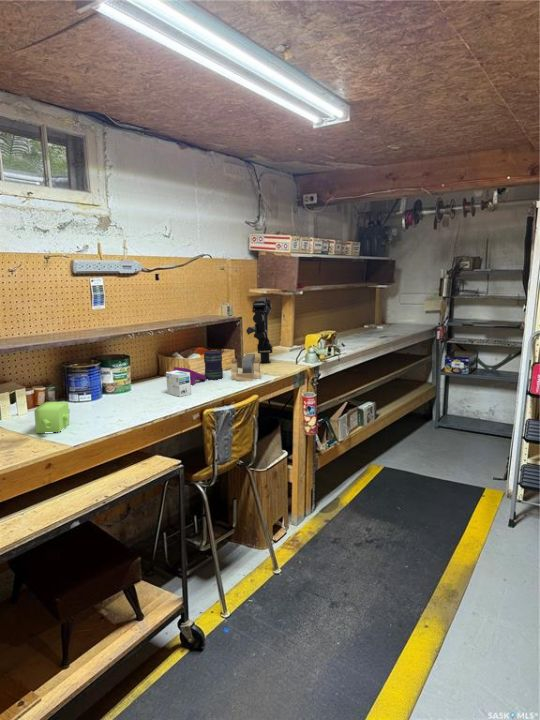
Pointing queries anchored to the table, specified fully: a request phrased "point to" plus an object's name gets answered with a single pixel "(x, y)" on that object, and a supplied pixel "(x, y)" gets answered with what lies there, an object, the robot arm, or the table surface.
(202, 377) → the mounting bracket
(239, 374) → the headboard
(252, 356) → the silver rectangular block
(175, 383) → the light bulb box
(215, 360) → the storage jar
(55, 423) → the gearbox
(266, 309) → the robot arm
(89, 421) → the table surface
